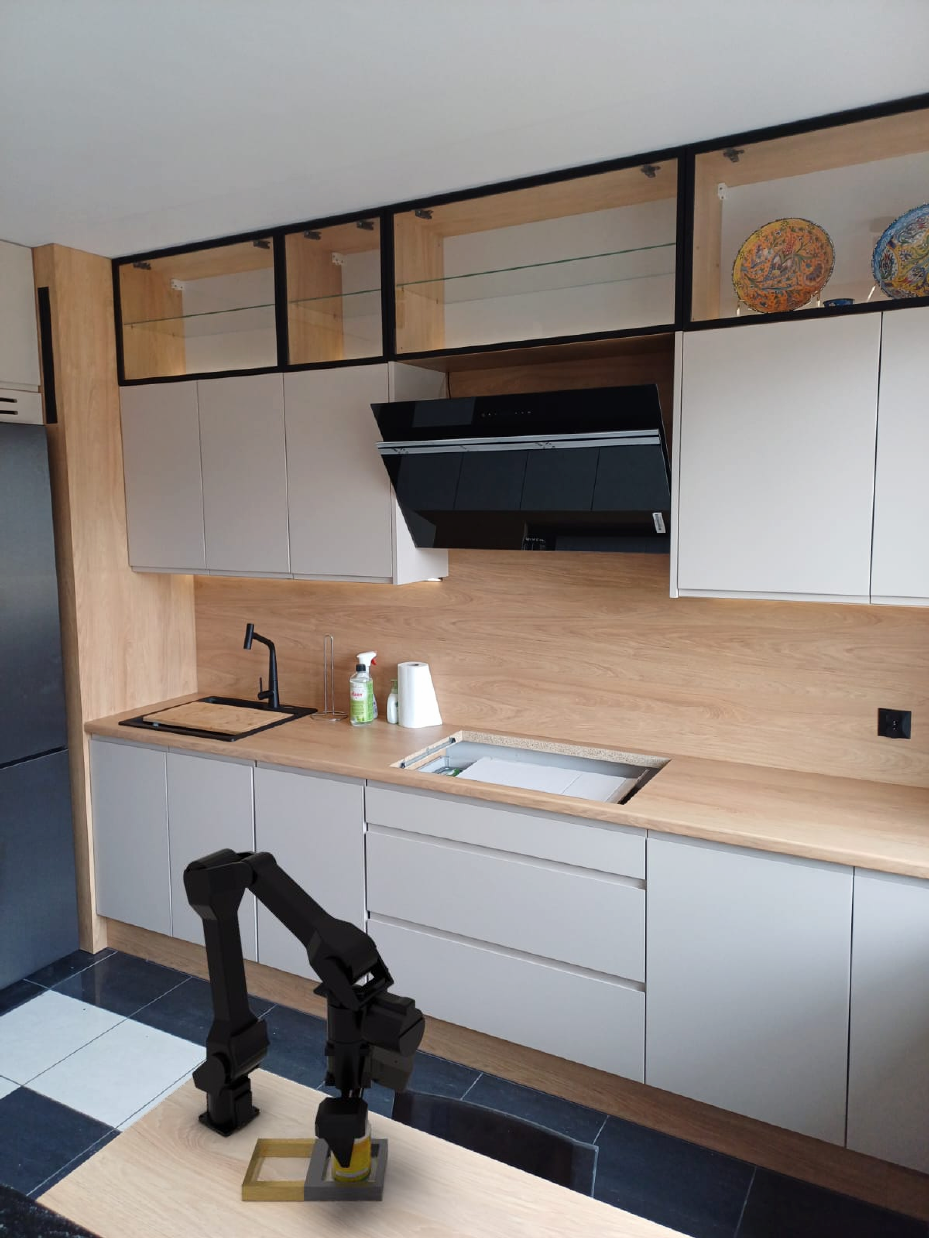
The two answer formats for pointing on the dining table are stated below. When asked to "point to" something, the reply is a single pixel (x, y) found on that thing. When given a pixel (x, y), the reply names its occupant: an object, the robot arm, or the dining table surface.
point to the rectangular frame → (310, 1173)
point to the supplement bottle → (355, 1161)
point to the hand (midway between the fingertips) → (350, 1141)
